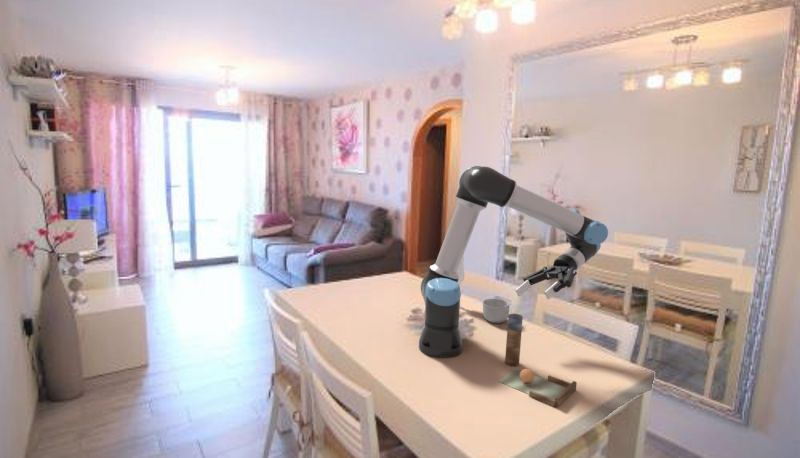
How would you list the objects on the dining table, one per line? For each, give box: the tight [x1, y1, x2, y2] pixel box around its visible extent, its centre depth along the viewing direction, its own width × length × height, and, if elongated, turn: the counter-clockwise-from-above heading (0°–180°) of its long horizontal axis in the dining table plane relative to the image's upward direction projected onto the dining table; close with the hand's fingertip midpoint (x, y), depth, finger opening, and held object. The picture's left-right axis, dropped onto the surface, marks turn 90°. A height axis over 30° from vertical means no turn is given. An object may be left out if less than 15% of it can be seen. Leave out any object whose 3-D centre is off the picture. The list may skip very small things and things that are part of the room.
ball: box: [520, 368, 534, 383], centre depth 123 cm, size 4×4×4 cm
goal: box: [498, 368, 578, 409], centre depth 121 cm, size 18×13×2 cm
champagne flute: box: [457, 254, 465, 309], centre depth 187 cm, size 7×7×24 cm
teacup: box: [482, 297, 510, 324], centre depth 173 cm, size 14×11×8 cm
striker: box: [504, 313, 524, 367], centre depth 134 cm, size 4×4×16 cm
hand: (531, 294), depth 142 cm, fingers open, 13 cm apart
